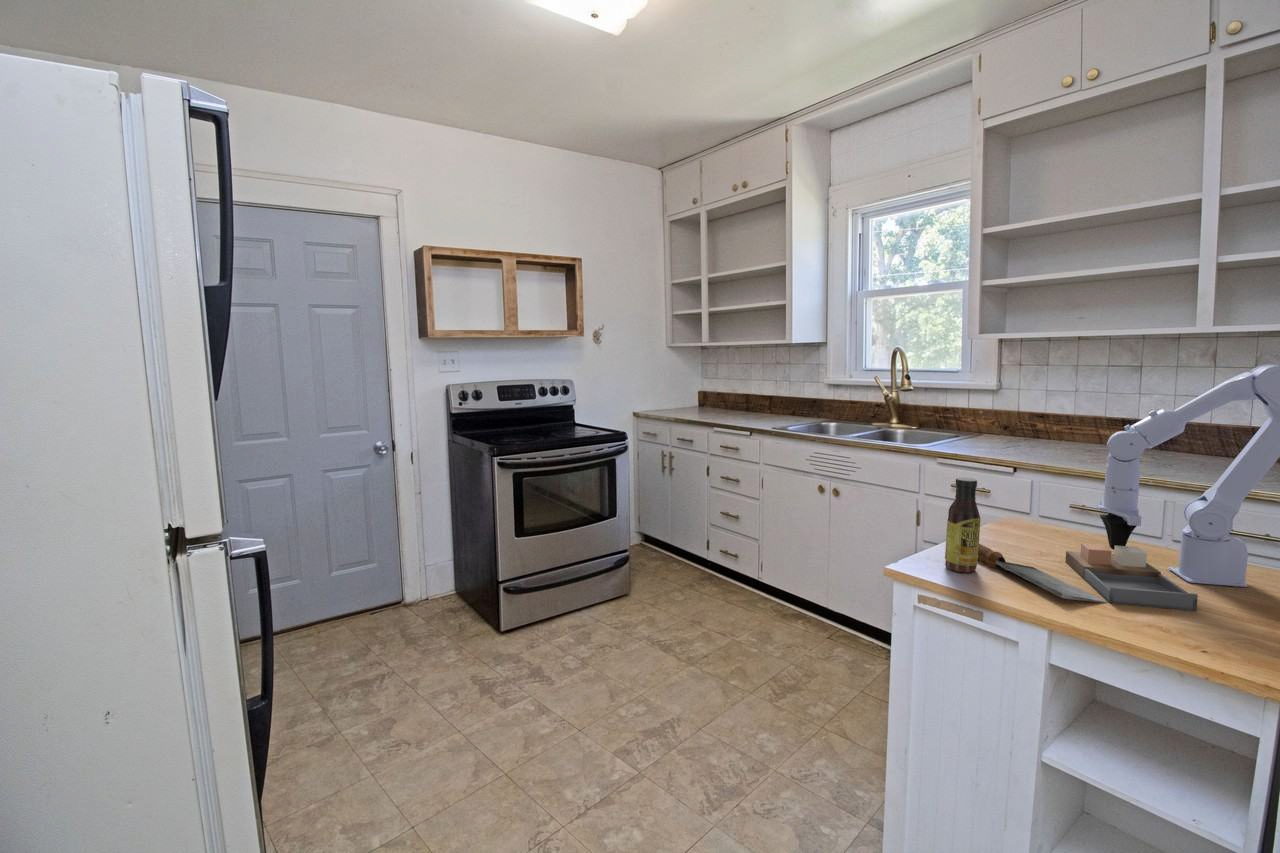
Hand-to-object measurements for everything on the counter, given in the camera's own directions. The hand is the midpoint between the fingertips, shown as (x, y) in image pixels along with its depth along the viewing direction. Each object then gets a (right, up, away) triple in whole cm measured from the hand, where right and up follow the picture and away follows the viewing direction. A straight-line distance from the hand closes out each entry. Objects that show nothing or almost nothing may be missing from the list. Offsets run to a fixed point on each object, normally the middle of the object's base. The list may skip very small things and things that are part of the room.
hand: (1116, 548), depth 130 cm
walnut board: (-4, -4, -4) cm, 7 cm away
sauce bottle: (-34, -5, 0) cm, 34 cm away
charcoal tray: (-8, -6, -15) cm, 18 cm away
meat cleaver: (-22, -5, -2) cm, 22 cm away
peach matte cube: (-8, -2, -4) cm, 9 cm away
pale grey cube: (-2, -2, -6) cm, 6 cm away
